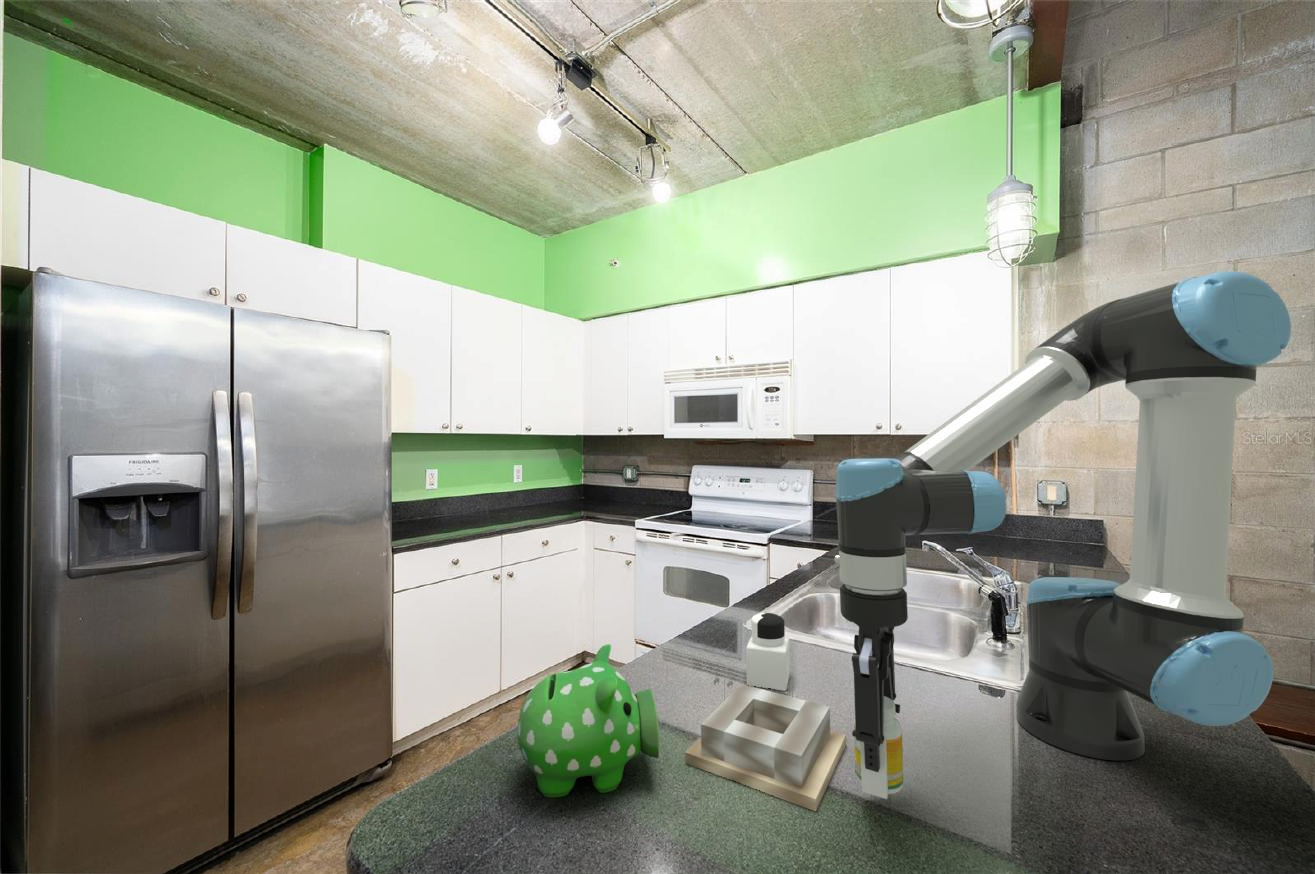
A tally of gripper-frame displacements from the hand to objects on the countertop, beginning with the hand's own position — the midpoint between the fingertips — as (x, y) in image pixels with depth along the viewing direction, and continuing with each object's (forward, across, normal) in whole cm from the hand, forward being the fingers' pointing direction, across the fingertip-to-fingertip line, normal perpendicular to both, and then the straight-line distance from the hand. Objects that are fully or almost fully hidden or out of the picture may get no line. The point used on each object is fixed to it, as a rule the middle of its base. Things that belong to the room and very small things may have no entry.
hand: (879, 777), depth 63 cm
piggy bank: (+3, +13, -34) cm, 37 cm away
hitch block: (+3, -4, -16) cm, 16 cm away
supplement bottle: (+1, 0, 0) cm, 1 cm away
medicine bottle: (+4, -26, -24) cm, 35 cm away
